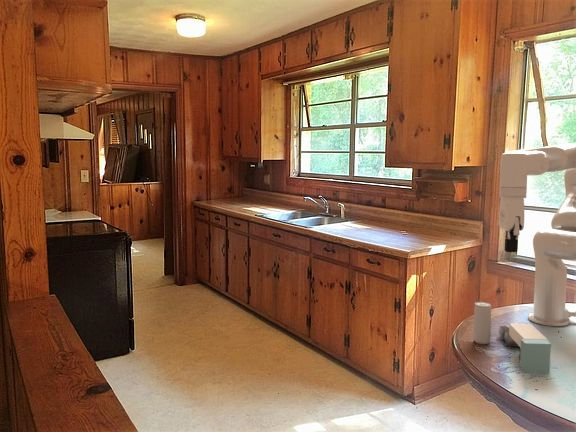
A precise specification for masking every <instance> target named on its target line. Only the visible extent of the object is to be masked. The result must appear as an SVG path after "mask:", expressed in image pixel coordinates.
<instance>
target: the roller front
mask: <svg viewBox="0 0 576 432" xmlns="http://www.w3.org/2000/svg"><path fill="white" fill-rule="evenodd" d="M504 344H505V346H507V347H519V345H518V344H517V343H516V342H515V341H514V340H513V339H512V338H511V336H510V335H509V332H506V333H505V339H504Z"/></svg>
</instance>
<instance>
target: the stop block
mask: <svg viewBox="0 0 576 432" xmlns="http://www.w3.org/2000/svg"><path fill="white" fill-rule="evenodd" d="M520 351H521V354H520V359H519V368H520V369H521V371H522V372H523V373H533V374H550V372H551V371H550V370H551V352H552V344H551V343H550V341H548V339H547V340H541V339H521V348H520Z"/></svg>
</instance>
